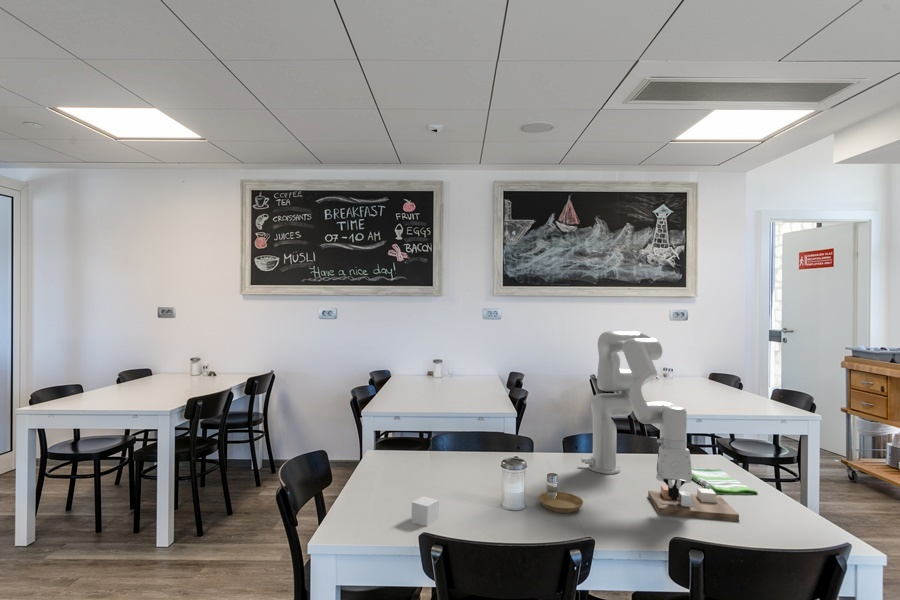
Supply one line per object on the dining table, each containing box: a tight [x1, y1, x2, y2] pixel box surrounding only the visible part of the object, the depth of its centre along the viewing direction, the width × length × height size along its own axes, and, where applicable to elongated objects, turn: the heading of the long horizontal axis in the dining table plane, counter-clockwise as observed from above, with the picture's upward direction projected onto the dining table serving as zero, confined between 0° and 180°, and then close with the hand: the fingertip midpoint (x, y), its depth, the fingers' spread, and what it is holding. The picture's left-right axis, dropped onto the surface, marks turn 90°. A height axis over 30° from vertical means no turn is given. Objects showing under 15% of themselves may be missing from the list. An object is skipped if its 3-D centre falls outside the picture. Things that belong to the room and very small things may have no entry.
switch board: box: [647, 490, 740, 522], centre depth 167 cm, size 24×16×2 cm, turn 80°
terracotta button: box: [660, 484, 678, 500], centre depth 171 cm, size 5×5×3 cm
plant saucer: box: [538, 491, 584, 514], centre depth 166 cm, size 15×15×3 cm
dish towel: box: [691, 467, 759, 496], centre depth 192 cm, size 17×23×4 cm
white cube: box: [411, 495, 440, 527], centre depth 153 cm, size 6×6×6 cm
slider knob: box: [678, 490, 691, 507], centre depth 164 cm, size 3×4×4 cm
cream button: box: [696, 487, 717, 503], centre depth 169 cm, size 5×5×3 cm
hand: (673, 498), depth 164 cm, fingers closed
